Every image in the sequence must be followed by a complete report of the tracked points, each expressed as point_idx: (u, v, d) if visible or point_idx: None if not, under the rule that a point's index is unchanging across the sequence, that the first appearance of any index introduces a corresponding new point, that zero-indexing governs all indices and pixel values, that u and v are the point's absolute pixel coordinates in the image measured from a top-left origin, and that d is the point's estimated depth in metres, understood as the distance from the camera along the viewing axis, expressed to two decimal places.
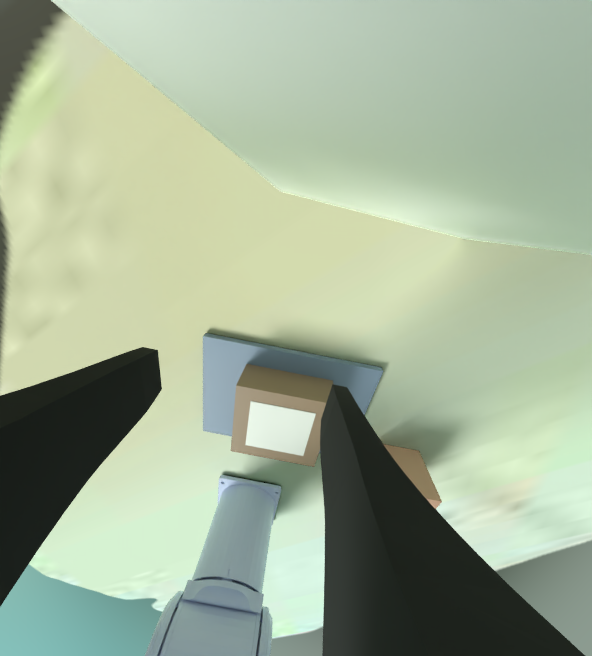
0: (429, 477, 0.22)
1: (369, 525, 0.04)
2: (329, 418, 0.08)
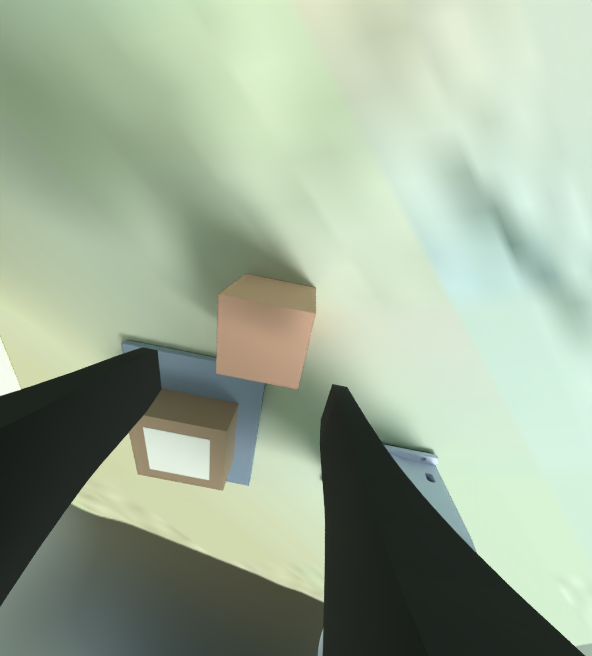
0: None
1: (369, 525, 0.04)
2: (329, 418, 0.08)
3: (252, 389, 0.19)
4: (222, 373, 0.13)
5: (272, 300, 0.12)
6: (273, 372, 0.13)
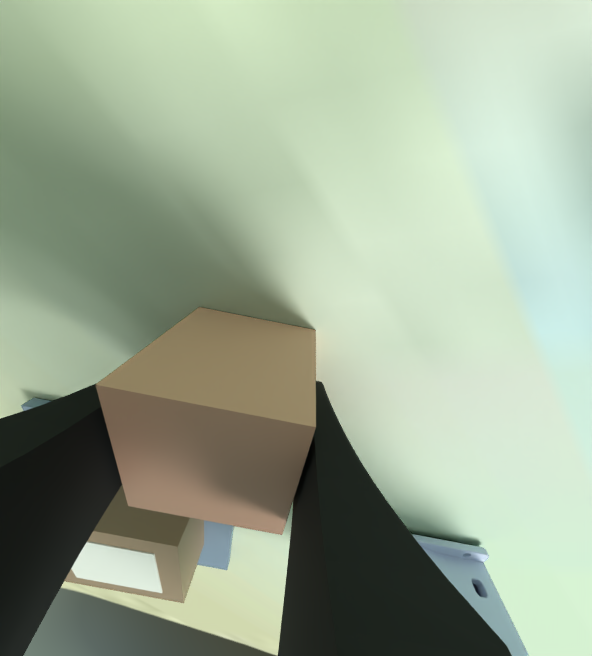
0: None
1: (316, 515, 0.04)
2: None
3: None
4: (139, 506, 0.07)
5: (223, 387, 0.06)
6: (234, 510, 0.07)
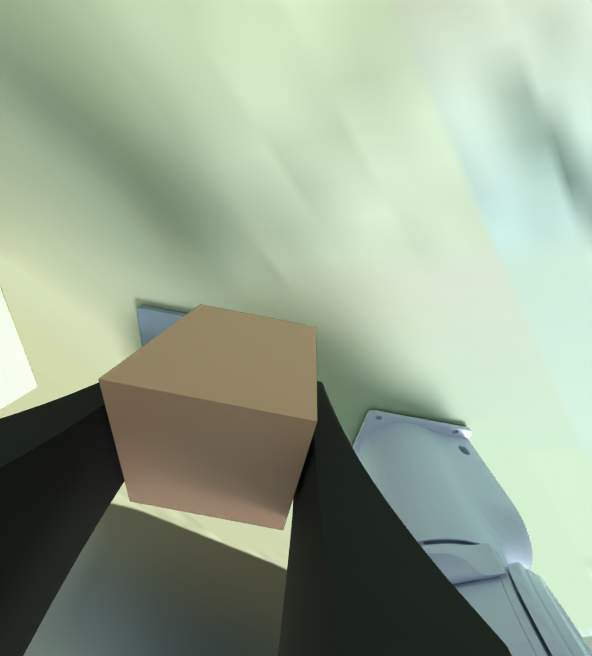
0: None
1: (316, 515, 0.04)
2: None
3: None
4: (141, 502, 0.07)
5: (225, 382, 0.06)
6: (235, 505, 0.07)
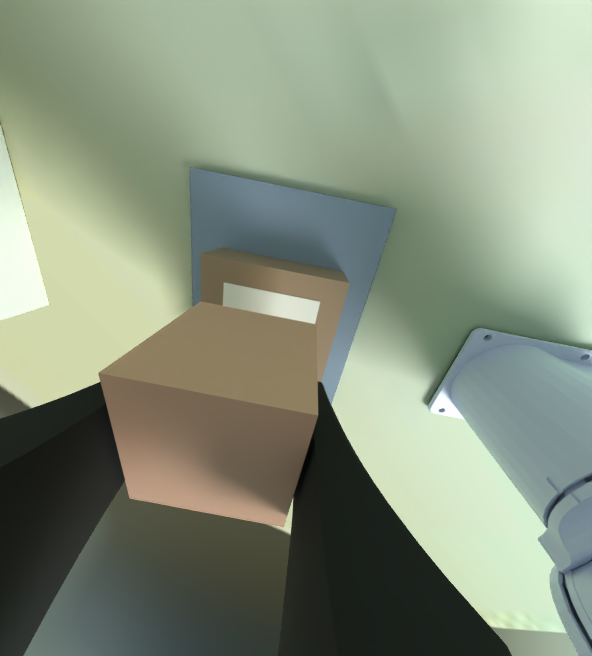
0: None
1: (316, 515, 0.04)
2: None
3: (369, 244, 0.14)
4: (141, 498, 0.07)
5: (225, 377, 0.06)
6: (236, 502, 0.07)
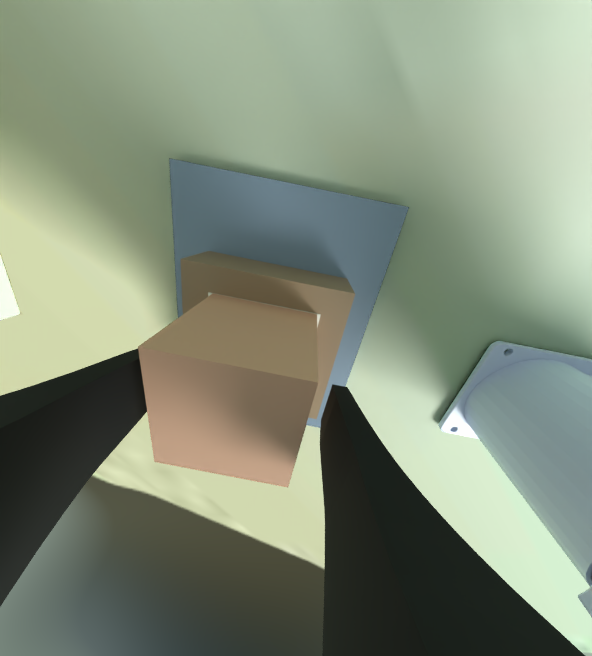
0: None
1: (370, 525, 0.04)
2: (329, 418, 0.08)
3: (376, 247, 0.12)
4: (165, 462, 0.08)
5: (241, 353, 0.07)
6: (247, 464, 0.08)
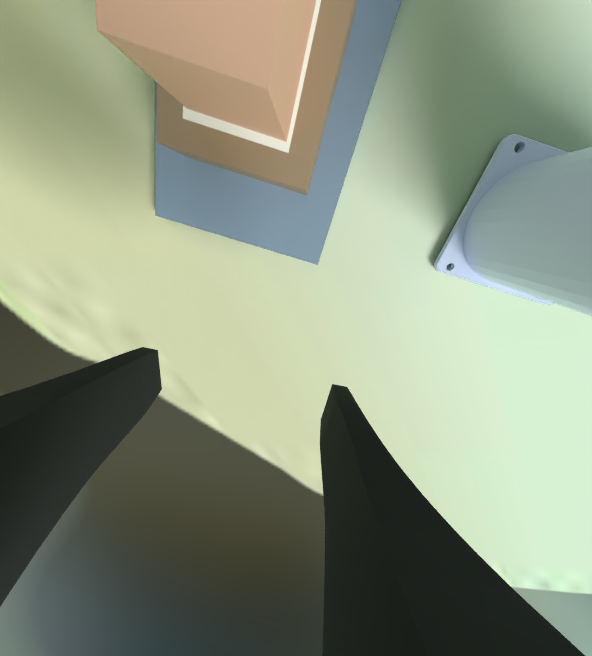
0: None
1: (369, 525, 0.04)
2: (329, 418, 0.08)
3: None
4: (110, 30, 0.06)
5: None
6: (217, 26, 0.06)
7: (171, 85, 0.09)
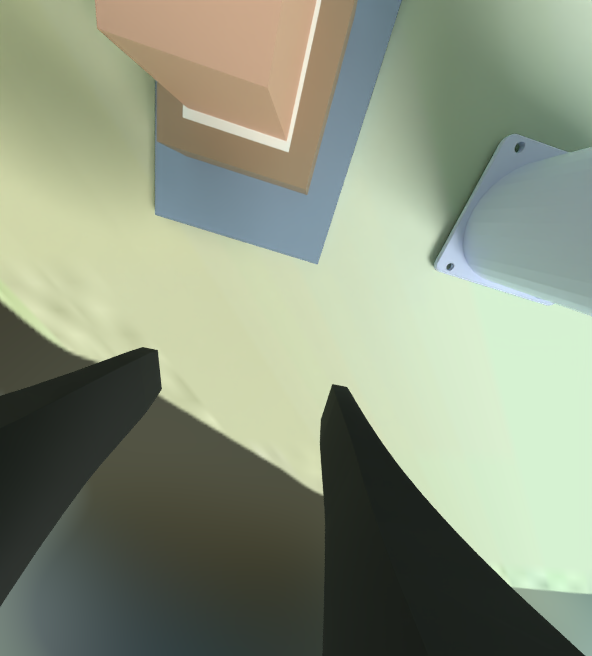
0: None
1: (370, 526, 0.04)
2: (329, 418, 0.08)
3: None
4: (110, 28, 0.06)
5: None
6: (218, 25, 0.06)
7: (171, 84, 0.09)
